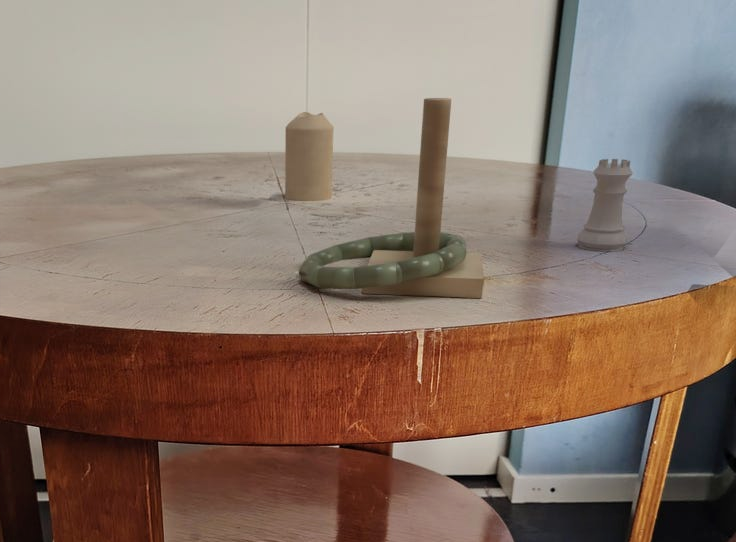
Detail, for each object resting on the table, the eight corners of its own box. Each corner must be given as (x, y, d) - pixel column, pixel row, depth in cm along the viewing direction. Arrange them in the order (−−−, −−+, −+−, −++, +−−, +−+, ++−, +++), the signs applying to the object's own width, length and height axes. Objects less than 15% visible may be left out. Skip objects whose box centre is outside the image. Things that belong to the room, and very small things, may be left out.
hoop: (466, 241, 77) (465, 222, 76) (467, 278, 65) (465, 255, 65) (314, 261, 80) (312, 243, 79) (290, 299, 69) (286, 278, 68)
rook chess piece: (619, 262, 78) (636, 164, 74) (567, 257, 80) (581, 161, 76) (630, 253, 81) (647, 159, 78) (580, 248, 83) (594, 156, 80)
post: (479, 271, 76) (498, 95, 69) (481, 298, 68) (502, 102, 62) (372, 267, 77) (381, 95, 71) (362, 293, 69) (371, 102, 63)
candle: (277, 202, 109) (278, 112, 104) (319, 199, 111) (321, 110, 106) (296, 209, 104) (297, 115, 100) (339, 205, 106) (342, 113, 101)
